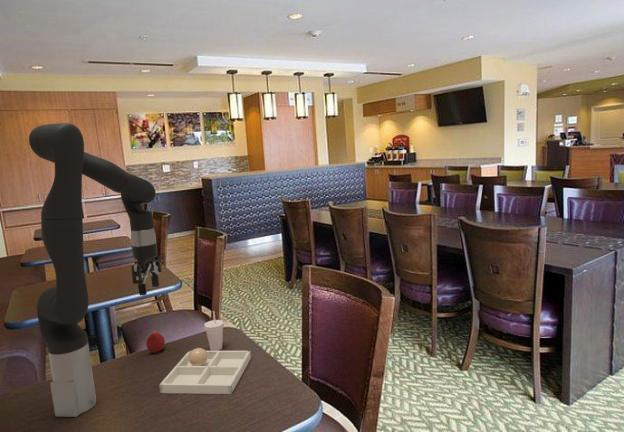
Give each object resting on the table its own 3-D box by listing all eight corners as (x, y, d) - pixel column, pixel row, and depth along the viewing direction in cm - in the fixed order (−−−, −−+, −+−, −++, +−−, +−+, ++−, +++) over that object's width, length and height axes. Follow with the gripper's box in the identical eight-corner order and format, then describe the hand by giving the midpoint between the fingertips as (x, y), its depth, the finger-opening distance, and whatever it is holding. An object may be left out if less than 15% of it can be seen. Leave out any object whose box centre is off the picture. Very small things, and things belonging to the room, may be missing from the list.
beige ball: (204, 370, 129) (202, 353, 128) (186, 370, 130) (185, 353, 129) (211, 361, 135) (209, 344, 134) (194, 361, 135) (192, 344, 135)
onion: (159, 357, 141) (157, 334, 140) (144, 356, 142) (141, 334, 141) (169, 349, 147) (166, 327, 146) (153, 348, 148) (151, 327, 147)
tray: (231, 396, 116) (230, 385, 115) (160, 395, 118) (159, 384, 118) (251, 360, 136) (250, 350, 135) (189, 360, 138) (188, 350, 138)
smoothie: (215, 356, 139) (211, 316, 137) (202, 352, 143) (198, 312, 141) (230, 349, 144) (226, 309, 142) (217, 344, 148) (213, 306, 146)
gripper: (144, 238, 147) (149, 284, 149) (121, 248, 133) (127, 298, 135) (165, 238, 146) (170, 283, 148) (143, 247, 132) (149, 297, 134)
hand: (149, 290), depth 141 cm, fingers open, 8 cm apart
